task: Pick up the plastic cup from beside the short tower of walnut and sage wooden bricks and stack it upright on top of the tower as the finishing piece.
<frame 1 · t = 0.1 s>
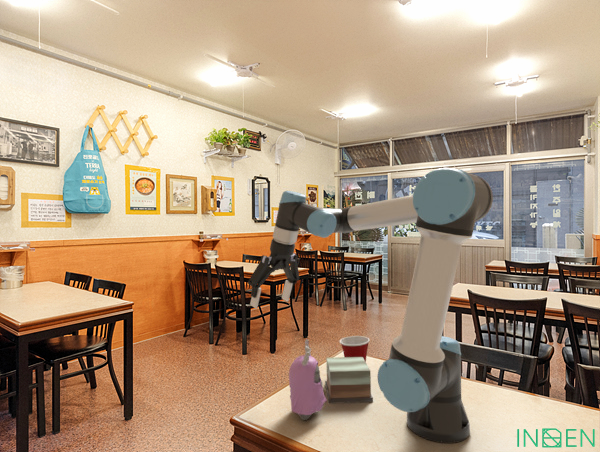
hand: (269, 303, 119), 28 cm above the table, tool tilted 20°, fingers open, 13 cm apart
plastic cup: (354, 373, 131), on the table
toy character: (308, 415, 102), on the table
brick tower: (347, 392, 115), on the table
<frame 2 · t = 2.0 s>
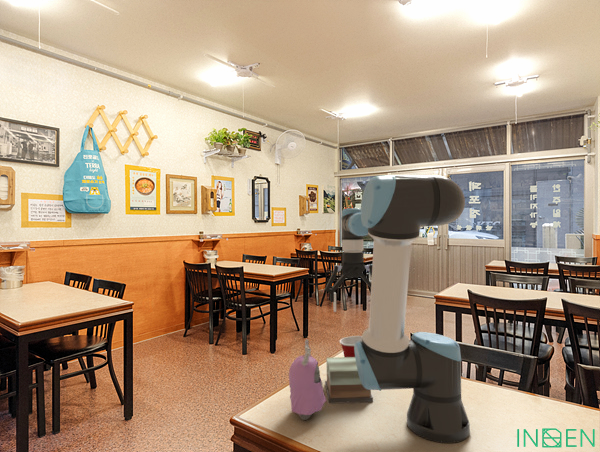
hand: (353, 310, 132), 22 cm above the table, tool pointing down, fingers open, 13 cm apart
nothing on the table moved.
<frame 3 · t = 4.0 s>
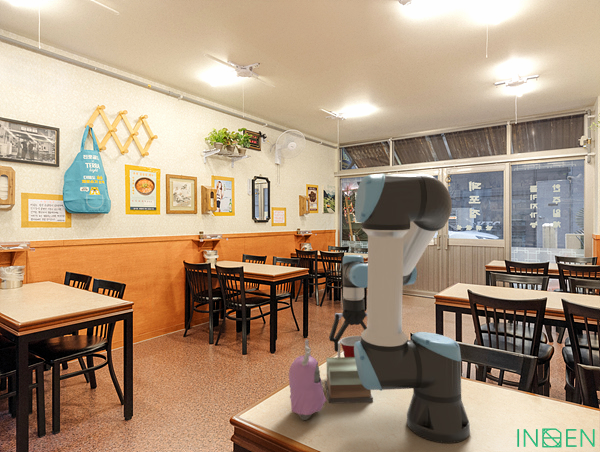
hand: (354, 360, 132), 4 cm above the table, tool pointing down, fingers closed on plastic cup, 11 cm apart
plastic cup: (354, 373, 131), on the table, touching gripper
everything else where it was.
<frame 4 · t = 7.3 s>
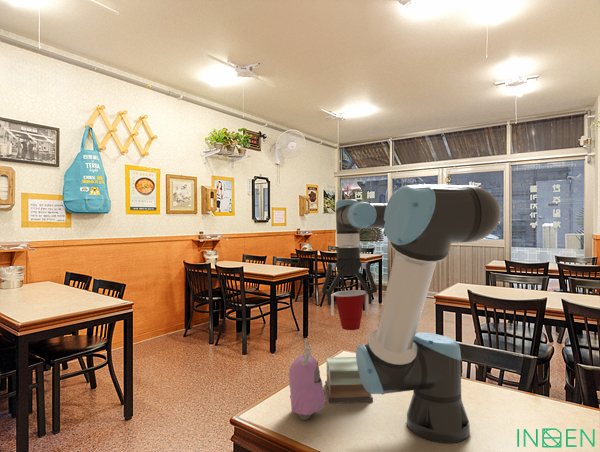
hand: (349, 314, 120), 23 cm above the table, tool pointing down, fingers closed on plastic cup, 11 cm apart
plastic cup: (349, 328, 120), point 19 cm above the table, touching gripper
everything else where it was.
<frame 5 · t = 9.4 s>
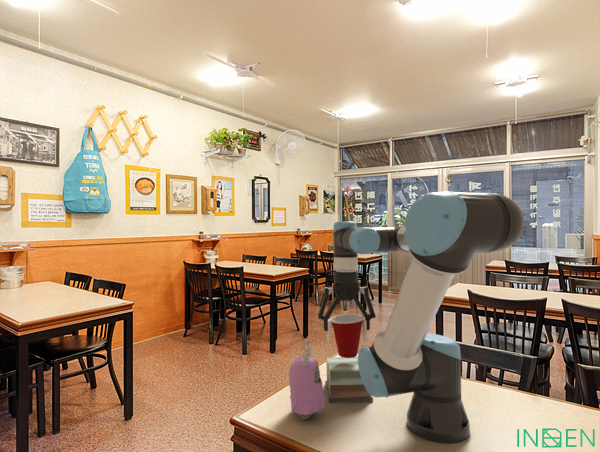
hand: (346, 340, 116), 16 cm above the table, tool pointing down, fingers closed on plastic cup, 11 cm apart
plastic cup: (347, 355, 116), point 12 cm above the table, touching gripper
everything else where it was.
when the fingers open (14 cm above the table, at t = 10.9 s): plastic cup stays where it is, resting on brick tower.
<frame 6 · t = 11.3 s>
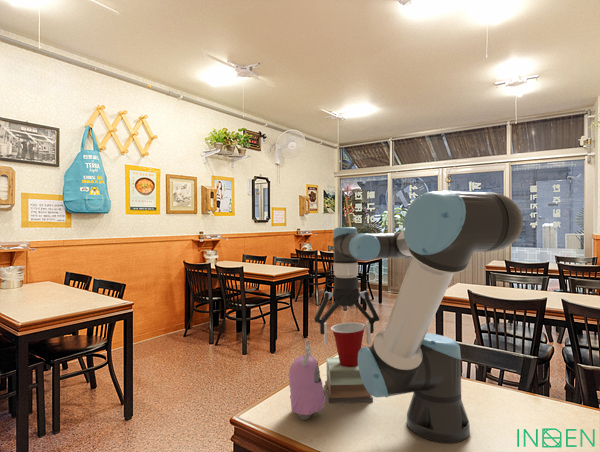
hand: (347, 344, 116), 15 cm above the table, tool pointing down, fingers open, 13 cm apart
plastic cup: (348, 364, 115), point 9 cm above the table, touching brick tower
everything else where it was.
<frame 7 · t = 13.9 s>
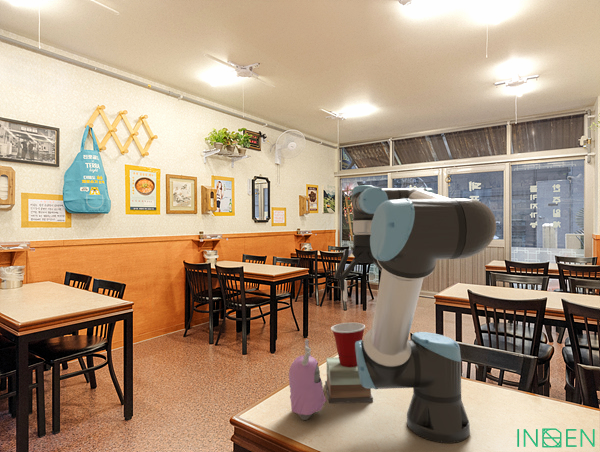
hand: (366, 300, 118), 28 cm above the table, tool pointing down, fingers open, 13 cm apart
nothing on the table moved.
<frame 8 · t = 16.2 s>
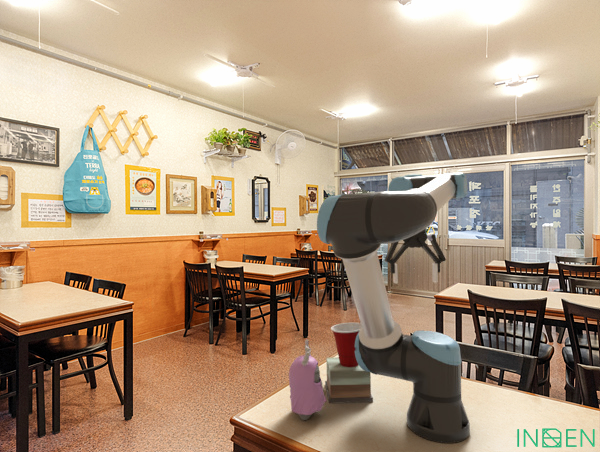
hand: (415, 282, 125), 33 cm above the table, tool pointing down, fingers open, 13 cm apart
nothing on the table moved.
at the end: plastic cup inside the target area on the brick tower (0.4 cm from its centre), point 8.8 cm above the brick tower's base; plastic cup tilted 0°; the gripper is holding nothing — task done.
